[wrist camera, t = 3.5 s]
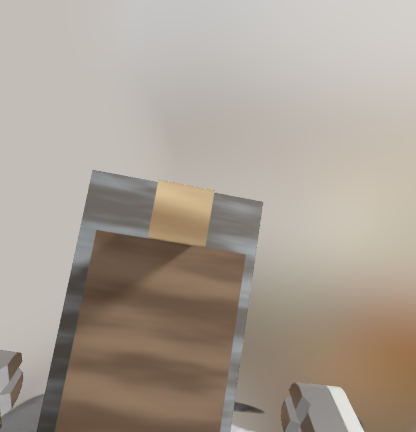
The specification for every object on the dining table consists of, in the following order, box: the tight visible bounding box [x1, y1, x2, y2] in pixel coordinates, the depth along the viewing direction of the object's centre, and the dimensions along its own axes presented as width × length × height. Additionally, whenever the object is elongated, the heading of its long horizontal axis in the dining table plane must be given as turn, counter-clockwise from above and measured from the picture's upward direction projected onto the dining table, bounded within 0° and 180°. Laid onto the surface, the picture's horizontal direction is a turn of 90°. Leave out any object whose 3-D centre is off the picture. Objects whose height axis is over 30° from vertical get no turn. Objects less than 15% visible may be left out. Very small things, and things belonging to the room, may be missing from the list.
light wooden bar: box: [148, 180, 214, 246], centre depth 23 cm, size 16×4×4 cm, turn 8°
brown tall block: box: [37, 170, 263, 432], centre depth 32 cm, size 19×24×34 cm
